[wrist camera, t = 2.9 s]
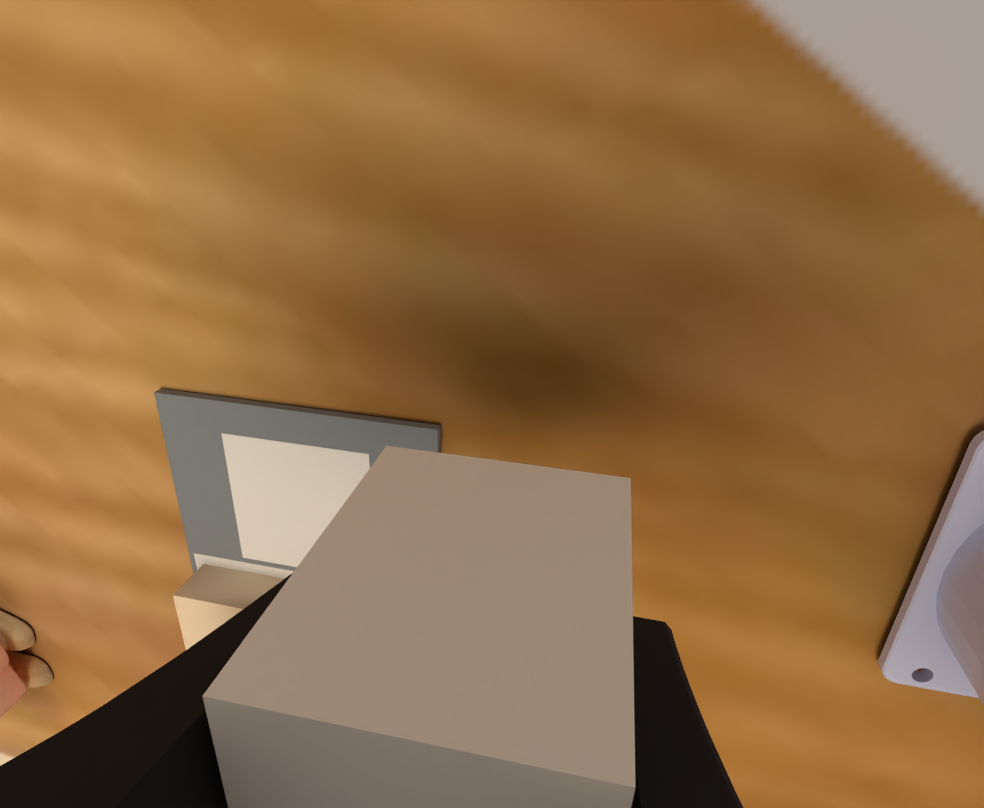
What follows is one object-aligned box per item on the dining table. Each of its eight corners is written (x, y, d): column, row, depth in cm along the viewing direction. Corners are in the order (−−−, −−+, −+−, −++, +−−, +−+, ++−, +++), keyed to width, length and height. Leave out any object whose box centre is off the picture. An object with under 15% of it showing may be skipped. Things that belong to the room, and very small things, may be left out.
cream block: (630, 478, 10) (635, 787, 5) (601, 664, 11) (586, 1016, 7) (386, 446, 10) (202, 696, 6) (394, 626, 12) (255, 927, 7)
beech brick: (422, 604, 20) (406, 640, 19) (424, 709, 22) (410, 749, 21) (203, 563, 21) (173, 595, 20) (224, 666, 24) (198, 701, 22)
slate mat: (440, 425, 18) (437, 430, 17) (440, 750, 24) (437, 757, 23) (160, 388, 19) (153, 392, 19) (227, 702, 25) (222, 709, 25)
